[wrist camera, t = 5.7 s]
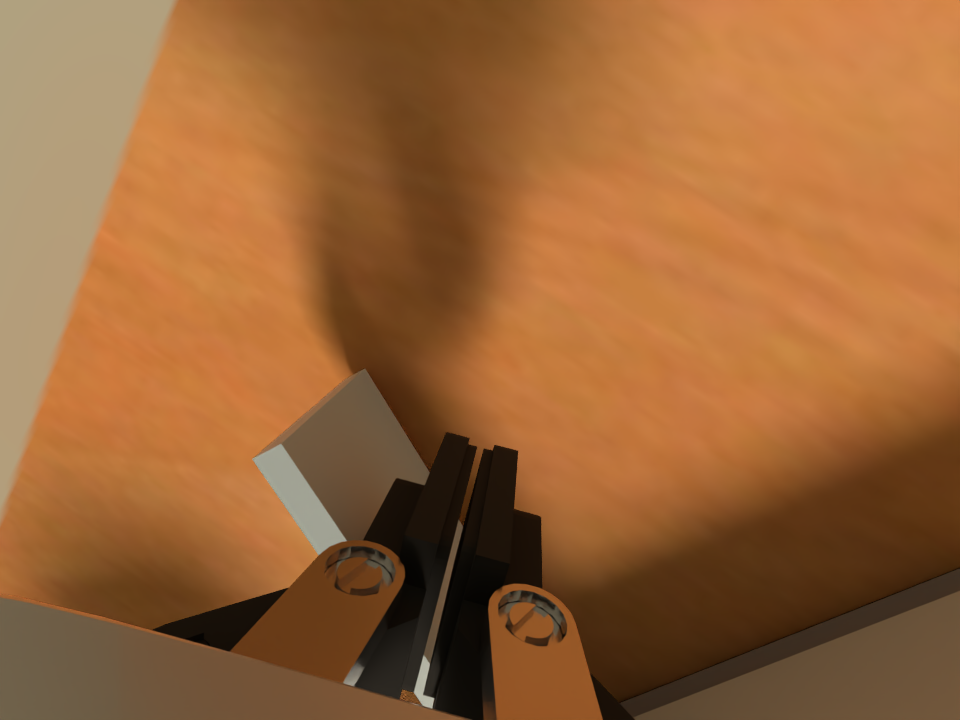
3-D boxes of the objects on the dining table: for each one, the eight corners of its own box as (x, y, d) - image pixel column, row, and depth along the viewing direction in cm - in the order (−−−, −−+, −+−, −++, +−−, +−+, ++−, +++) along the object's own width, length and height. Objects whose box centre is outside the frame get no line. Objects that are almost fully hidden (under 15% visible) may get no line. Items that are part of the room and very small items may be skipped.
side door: (588, 717, 17) (614, 923, 12) (548, 731, 18) (557, 937, 13) (370, 365, 15) (289, 439, 10) (328, 388, 15) (228, 471, 10)
